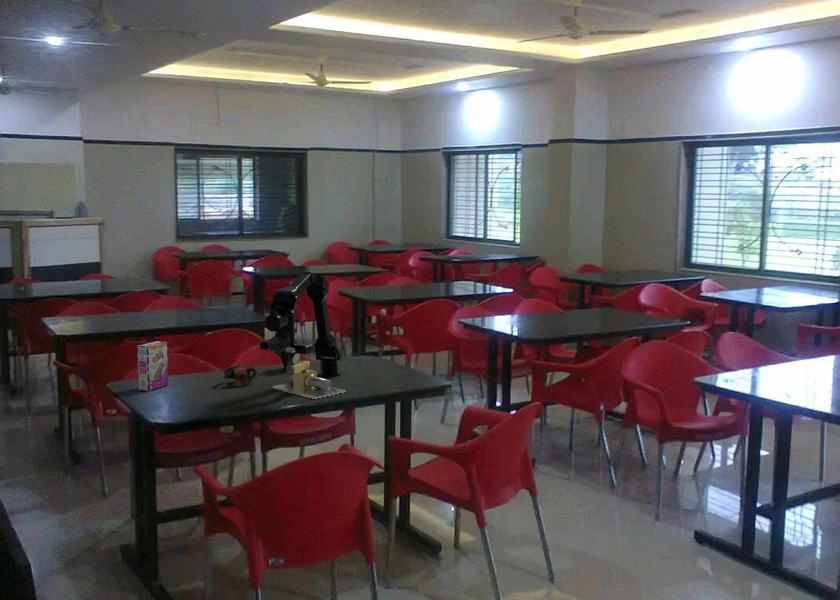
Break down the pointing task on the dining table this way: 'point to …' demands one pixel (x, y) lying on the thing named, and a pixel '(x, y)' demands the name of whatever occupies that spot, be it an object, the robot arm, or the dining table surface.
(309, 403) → the dining table surface
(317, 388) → the valve pipe
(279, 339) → the robot arm
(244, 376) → the pottery mug
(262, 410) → the dining table surface
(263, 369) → the dining table surface
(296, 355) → the food container
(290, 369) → the lever
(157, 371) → the candy bar box
